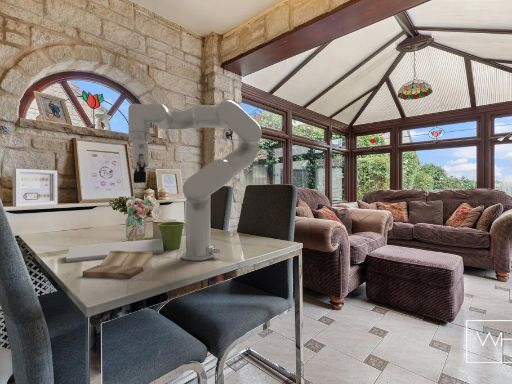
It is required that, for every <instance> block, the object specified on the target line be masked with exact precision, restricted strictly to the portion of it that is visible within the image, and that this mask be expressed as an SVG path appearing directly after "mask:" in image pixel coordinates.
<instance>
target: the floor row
mask: <svg viewBox="0 0 512 384" xmlns="http://www.w3.org/2000/svg"><path fill="white" fill-rule="evenodd" d="M144 271H145V269H144V270H142V267H136V266H109V265H100V264H97V265H94V266H93V267H90V268H88V269H85V270H83V271H82V277H84V278H105V279H106V278H107V279H132V278H133V277H135V276H137V275H140V274H141V273H143V272H144Z"/></svg>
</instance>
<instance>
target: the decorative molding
mask: <svg viewBox="0 0 512 384" xmlns="http://www.w3.org/2000/svg"><path fill="white" fill-rule="evenodd" d="M110 251H143V252H152V254H153V255H155V254H162V253H164V248H163V243H162V238H154V239H143V240H142V239H141V240H130V241H116V242H104V243H94V244H93V243H91V244H79V245H70V247H69V250H68V252H67V254H66V257H65V262H66V263H71V262H82V261H93V260H101V259H103V260H104V259H105V258H106V257H107V255H108V254H109V253H110Z"/></svg>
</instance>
